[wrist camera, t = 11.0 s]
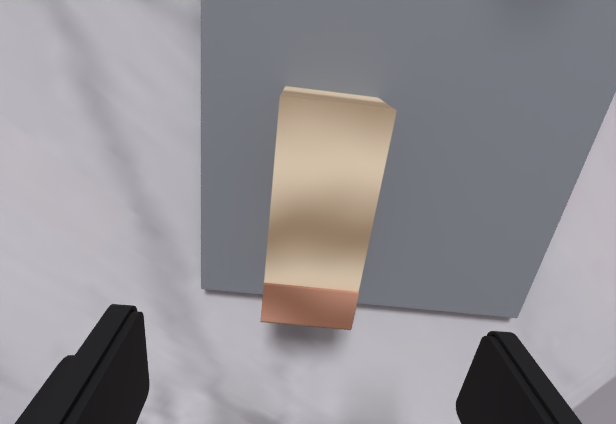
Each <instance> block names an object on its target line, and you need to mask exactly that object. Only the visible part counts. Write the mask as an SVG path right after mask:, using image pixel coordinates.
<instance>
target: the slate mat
mask: <svg viewBox="0 0 616 424" xmlns="http://www.w3.org/2000/svg"><path fill="white" fill-rule="evenodd" d="M285 86H289V87H297V88H305V89H313V90H321V91H329V92H337V93H345V94H353V95H361V96H369V97H377V98H379V99H381V100H382V101H384V102H385V103H387V104H388V105H389V106H391V107H392V108H394V109H395V110H397V112H396V117H395V122H394V127H393V131H392V136H391V141H390V146H389V150H388V155H387V160H386V164H385V169H384V174H383V179H382V183H381V188H380V193H379V198H378V202H377V207H376V212H375V217H374V221H373V226H372V231H371V236H370V240H369V245H368V250H367V254H366V259H365V264H364V269H363V273H362V278H361V283H360V288H359V296H358V301H357V303H359V304H370V305H381V306H391V307H402V308H413V309H424V310H434V311H445V312H456V313H467V314H478V315H488V316H499V317H510V318H517V317H518V315H519V313H520V311H521V308H522V306H523V304H524V301H525V299H526V297H527V294H528V292H529V290H530V288H531V285H532V283H533V281H534V278H535V276H536V274H537V271H538V269H539V267H540V264H541V262H542V260H543V258H544V255H545V253H546V251H547V248H548V246H549V244H550V241H551V239H552V237H553V235H554V232H555V230H556V228H557V225H558V223H559V221H560V218H561V216H562V214H563V211H564V209H565V207H566V205H567V202H568V200H569V198H570V195H571V193H572V191H573V188H574V186H575V184H576V182H577V179H578V177H579V175H580V172H581V170H582V168H583V165H584V163H585V161H586V159H587V156H588V154H589V152H590V149H591V147H592V145H593V142H594V140H595V138H596V135H597V133H598V131H599V129H600V126H601V124H602V122H603V119H604V117H605V115H606V112H607V110H608V108H609V106H610V103H611V101H612V99H613V96H614V94H615V92H616V0H201V289H208V290H219V291H230V292H241V293H251V294H262V295H263V287H264V277H265V266H266V254H267V242H268V230H269V218H270V206H271V195H272V183H273V171H274V159H275V147H276V135H277V124H278V112H279V100H280V95H281V93H282V91H283V89H284V88H285Z"/></svg>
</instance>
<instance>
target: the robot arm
mask: <svg viewBox="0 0 616 424" xmlns="http://www.w3.org/2000/svg"><path fill="white" fill-rule="evenodd" d="M148 392H149V373H148V361H147V350H146V338H145V327H144V316H143V313H142V312H137V308H136V306H131V305H117V304H112V305H110V306H109V307H108V309H107V310H106V312H105V313H104V314H103V316H102V317H101V319H100V320H99V322H98V323H97V324H96V326H95V327H94V329H93V330H92V332H91V333H90V334H89V336H88V337H87V339H86V340H85V342H84V343H83V344H82V346H81V347H80V349H79V350H78V352H77V353H76V354H75V355H68V356H67V357H65V358H63V360H62V361H61V362H60V363H59V364H58V365H57V367H56V368H55V369H54V371H53V372H52V374H51V375H50V376H49V378H48V379H47V380H46V382H45V383H44V384H43V386H42V387H41V389H40V390H39V391H38V393H37V394H36V395H35V397H34V398H33V399H32V401H31V402H30V404H29V405H28V406H27V408H26V409H25V410H24V412H23V413H22V414H21V416H20V417H19V419H18V420H17V421H16V423H15V424H136V423H137V420H138V418H139V416H140V413H141V411H142V408H143V406H144V404H145V401H146V399H147V396H148ZM456 411H457V415H458V417H459V419H460V422H461V424H582V423H581V422H580V420H579V419H578V418H577V416H576V415H575V413H574V412H573V411H572V409H571V408H570V407H569V405H568V404H567V403H566V401H565V400H564V399H563V397H562V396H561V395H560V393H559V392H558V391H557V389H556V388H555V387H554V385H553V384H552V383H551V381H550V380H549V379H548V377H547V376H546V375H545V373H544V372H543V371H542V369H541V368H540V367H539V365H538V364H537V363H536V361H535V360H534V359H533V357H532V356H531V355H530V353H529V352H528V351H527V349H526V348H525V347H524V345H523V344H522V343H521V341H520V340H519V339H518V337H517V336H516V335H515V334H513V333H511V332H498V331H490V332H489V333H488V334H487V336H484V337H482V339H481V341H480V344H479V346H478V349H477V351H476V354H475V356H474V359H473V361H472V364H471V366H470V368H469V371H468V373H467V376H466V378H465V381H464V383H463V386H462V388H461V391H460V393H459V396H458V398H457V401H456Z"/></svg>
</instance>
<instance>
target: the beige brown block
mask: <svg viewBox="0 0 616 424" xmlns="http://www.w3.org/2000/svg"><path fill="white" fill-rule="evenodd" d="M396 112H397V110H395V109H394V108H392V107H391V106H389V105H388V104H387V103H385V102H384V101H382V100H381V99H379V98H377V97H369V96H361V95H353V94H345V93H337V92H329V91H321V90H313V89H305V88H297V87H289V86H285V88H284V89H283V91H282V93H281V95H280V100H279V112H278V124H277V135H276V147H275V159H274V171H273V183H272V195H271V206H270V218H269V230H268V242H267V254H266V266H265V277H264V287H263V299H262V311H261V322H267V323H278V324H289V325H300V326H311V327H322V328H333V329H344V330H351V329H352V324H353V319H354V315H355V310H356V305H357V301H358V296H359V288H360V283H361V278H362V273H363V269H364V264H365V259H366V254H367V250H368V245H369V240H370V236H371V231H372V226H373V221H374V217H375V212H376V207H377V202H378V198H379V193H380V188H381V183H382V179H383V174H384V169H385V164H386V160H387V155H388V150H389V146H390V141H391V136H392V131H393V127H394V122H395V117H396Z"/></svg>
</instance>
